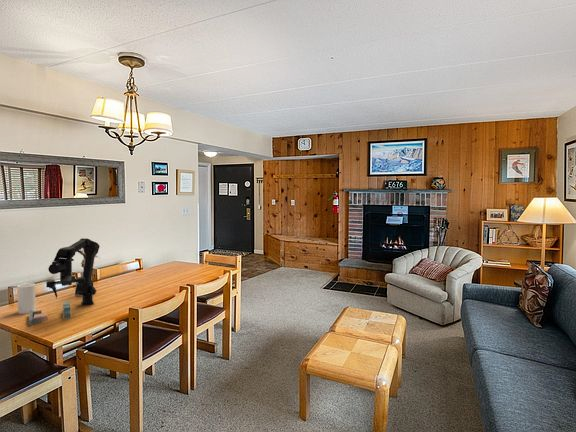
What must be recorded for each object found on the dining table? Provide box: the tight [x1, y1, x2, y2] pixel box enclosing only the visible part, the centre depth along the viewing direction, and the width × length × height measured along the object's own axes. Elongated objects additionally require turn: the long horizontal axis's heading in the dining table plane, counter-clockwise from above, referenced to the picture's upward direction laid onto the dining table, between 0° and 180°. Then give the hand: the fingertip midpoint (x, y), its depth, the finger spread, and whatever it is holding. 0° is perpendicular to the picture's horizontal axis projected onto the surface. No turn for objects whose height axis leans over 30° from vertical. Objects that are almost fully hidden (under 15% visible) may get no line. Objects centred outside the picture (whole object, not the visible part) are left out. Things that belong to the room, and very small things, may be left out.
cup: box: [16, 282, 36, 315], centre depth 202 cm, size 8×8×16 cm
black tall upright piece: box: [75, 248, 101, 298], centre depth 238 cm, size 17×13×35 cm
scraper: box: [62, 301, 72, 320], centre depth 199 cm, size 12×3×6 cm, turn 36°
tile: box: [33, 312, 48, 322], centre depth 192 cm, size 6×6×2 cm
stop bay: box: [28, 309, 42, 327], centre depth 190 cm, size 18×6×3 cm, turn 36°
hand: (66, 296), depth 198 cm, fingers open, 9 cm apart
